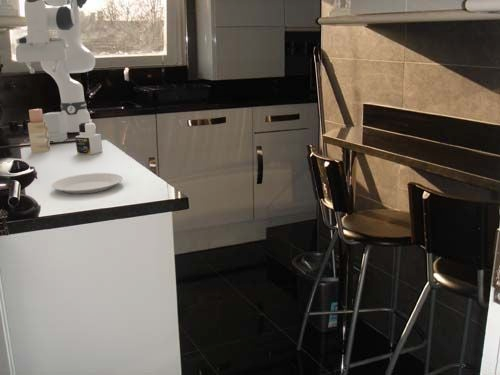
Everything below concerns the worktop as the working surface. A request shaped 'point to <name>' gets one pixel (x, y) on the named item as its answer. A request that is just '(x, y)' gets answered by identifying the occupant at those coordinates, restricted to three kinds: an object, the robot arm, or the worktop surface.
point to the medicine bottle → (88, 139)
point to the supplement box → (56, 126)
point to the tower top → (37, 127)
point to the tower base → (40, 147)
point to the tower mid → (38, 137)
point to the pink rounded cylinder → (36, 115)
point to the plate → (87, 183)
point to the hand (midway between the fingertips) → (43, 72)
